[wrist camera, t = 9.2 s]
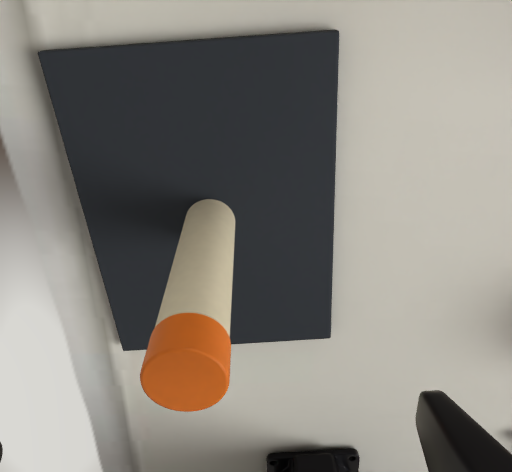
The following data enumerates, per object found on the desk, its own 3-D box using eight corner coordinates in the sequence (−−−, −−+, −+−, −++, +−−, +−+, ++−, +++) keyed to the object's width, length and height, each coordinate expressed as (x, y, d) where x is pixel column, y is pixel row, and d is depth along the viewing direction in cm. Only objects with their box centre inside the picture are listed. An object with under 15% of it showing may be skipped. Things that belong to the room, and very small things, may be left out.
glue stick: (238, 241, 21) (233, 410, 13) (188, 245, 21) (148, 415, 13) (233, 195, 20) (224, 346, 11) (181, 199, 20) (130, 352, 11)
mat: (329, 331, 25) (330, 338, 25) (125, 344, 25) (123, 351, 25) (336, 29, 17) (339, 30, 17) (42, 50, 17) (36, 51, 17)
